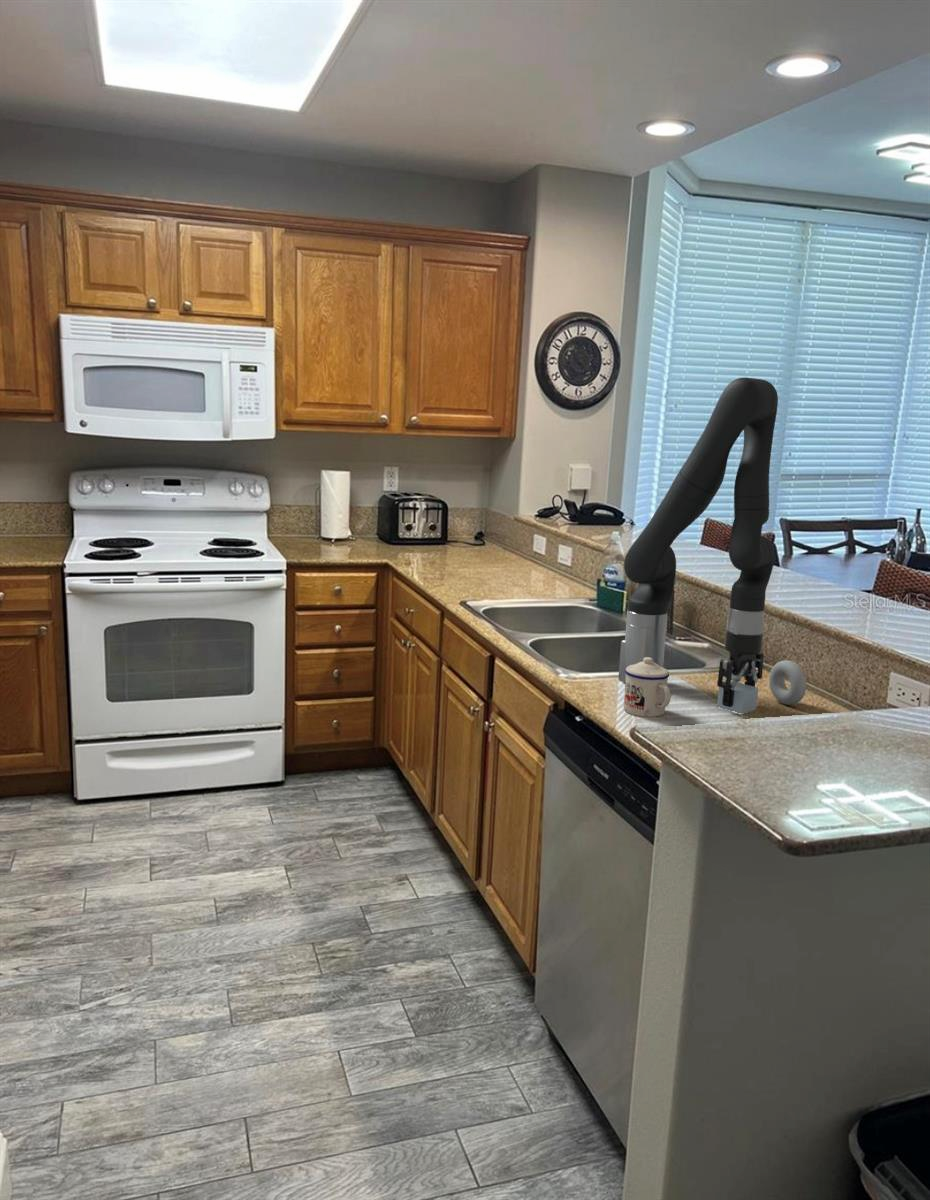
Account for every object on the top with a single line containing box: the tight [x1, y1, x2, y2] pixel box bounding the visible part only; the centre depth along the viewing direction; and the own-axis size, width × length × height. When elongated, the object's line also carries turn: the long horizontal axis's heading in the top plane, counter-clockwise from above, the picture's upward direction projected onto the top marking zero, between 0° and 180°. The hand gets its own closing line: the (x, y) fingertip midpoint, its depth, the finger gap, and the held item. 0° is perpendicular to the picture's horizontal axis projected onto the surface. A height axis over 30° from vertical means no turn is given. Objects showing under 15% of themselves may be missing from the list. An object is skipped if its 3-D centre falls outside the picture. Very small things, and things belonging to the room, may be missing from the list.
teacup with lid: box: [623, 657, 672, 718], centre depth 193 cm, size 12×9×12 cm
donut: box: [768, 659, 808, 706], centre depth 203 cm, size 10×4×10 cm, turn 24°
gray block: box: [716, 681, 759, 715], centre depth 199 cm, size 6×6×5 cm
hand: (738, 702), depth 199 cm, fingers open, 8 cm apart
